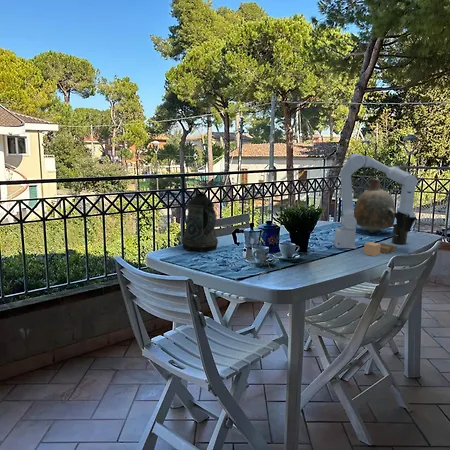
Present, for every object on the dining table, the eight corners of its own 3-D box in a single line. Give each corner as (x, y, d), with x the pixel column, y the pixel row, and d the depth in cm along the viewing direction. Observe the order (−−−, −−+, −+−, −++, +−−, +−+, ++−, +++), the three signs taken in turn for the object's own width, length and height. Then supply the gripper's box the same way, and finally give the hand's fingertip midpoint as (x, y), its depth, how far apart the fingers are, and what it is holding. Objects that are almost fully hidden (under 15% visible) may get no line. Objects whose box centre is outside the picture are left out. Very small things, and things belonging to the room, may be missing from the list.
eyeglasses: (282, 272, 166) (283, 259, 165) (259, 281, 155) (259, 268, 154) (250, 263, 176) (250, 251, 175) (226, 271, 165) (226, 258, 164)
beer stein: (195, 241, 208) (195, 190, 202) (229, 247, 198) (231, 194, 193) (174, 248, 194) (174, 194, 189) (210, 255, 184) (211, 198, 179)
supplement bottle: (390, 243, 213) (393, 219, 210) (392, 240, 218) (395, 217, 216) (405, 245, 209) (408, 221, 207) (407, 242, 215) (409, 219, 213)
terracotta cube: (373, 256, 189) (374, 245, 188) (363, 254, 193) (364, 243, 191) (379, 254, 192) (380, 244, 191) (369, 252, 196) (370, 241, 195)
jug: (399, 232, 239) (405, 178, 232) (391, 239, 221) (397, 181, 215) (355, 226, 251) (359, 175, 245) (344, 232, 233) (349, 178, 227)
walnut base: (386, 255, 193) (387, 248, 192) (370, 251, 199) (371, 244, 198) (395, 252, 198) (396, 246, 197) (380, 248, 204) (380, 242, 203)
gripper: (423, 203, 189) (419, 233, 192) (408, 198, 203) (404, 226, 206) (407, 203, 189) (403, 233, 191) (393, 198, 203) (390, 226, 206)
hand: (403, 229), depth 199 cm, fingers open, 7 cm apart
